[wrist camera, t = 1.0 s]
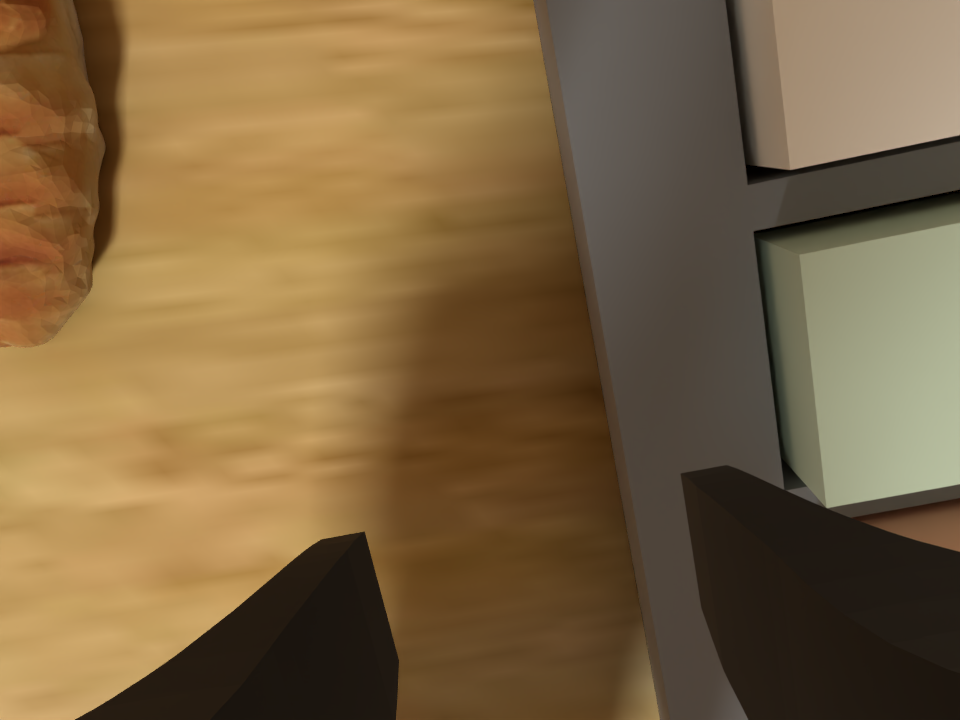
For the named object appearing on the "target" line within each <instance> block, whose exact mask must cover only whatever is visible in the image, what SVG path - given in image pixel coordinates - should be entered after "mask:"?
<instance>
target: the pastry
mask: <svg viewBox="0 0 960 720" xmlns="http://www.w3.org/2000/svg"><path fill="white" fill-rule="evenodd" d="M105 147H106V145H105V141H104V138H103V136H102V133H101V131H100V129H99V127H98V114H97V108H96V103H95V97H94V94H93V91H92V89H91V87H90V85H89V81H88V76H87V70H86V63H85V56H84V44H83V36H82V33H81V29H80V26H79V22H78V17H77V13H76V9H75V6H74V3H73V0H0V347H10V346H15V347H19V348H26V347H34V346H37V345H41V344H45V343H46V342H48V341H49V340H51V339H52V338H53V337H54V336H55V335H56V334H57V333H58V331H59V330H60V329H61V328H62V327H63V325H64V324H65V323H66V321H67V320H68V319H69V318H70V316H71V315H72V314H73V313H74V311H75V310H76V309H77V308H78V307H79V306H80V304H81V303H82V302H83V301H84V299H85V298H86V296H87V295H88V294H89V292H90V290H91V288H92V265H91V262H92V258H93V254H94V248H95V245H94V238H93V231H94V225H95V222H96V219H97V216H98V212H99V197H98V177H99V172H100V168H101V164H102V160H103V156H104V153H105Z"/></svg>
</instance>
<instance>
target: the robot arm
mask: <svg viewBox="0 0 960 720" xmlns="http://www.w3.org/2000/svg"><path fill="white" fill-rule="evenodd" d="M680 474H681V480H682V487H683V493H684V500H685V506H686V512H687V519H688V525H689V532H690V538H691V545H692V551H693V558H694V564H695V570H696V577H697V583H698V590H699V596H700V603H701V609H702V611H703V614H704V617H705V620H706V623H707V626H708V629H709V631H710V634H711V637H712V640H713V643H714V646H715V648H716V651H717V654H718V657H719V659H720V662H721V665H722V668H723V670H724V673H725V675H726V677H727V679H728V681H729V683H730V685H731V687H732V689H733V691H734V693H735V694H736V696H737V698H738V700H739V702H740V704H741V706H742V708H743V710H744V712H745V714H746V716H747V718H748V720H960V552H959V551H955V550H951V549H947V548H944V547H940V546H936V545H932V544H929V543H925V542H921V541H917V540H914V539H911V538H908V537H904V536H901V535H898V534H895V533H892V532H889V531H886V530H883V529H880V528H878V527H875V526H872V525H869V524H866V523H864V522H861V521H858V520H855V519H852V518H850V517H847V516H845V515H842V514H840V513H837V512H835V511H832V510H830V509H827V508H825V507H822V506H820V505H818V504H815V503H813V502H811V501H808V500H806V499H804V498H801V497H799V496H797V495H795V494H792V493H790V492H788V491H786V490H784V489H781V488H779V487H777V486H775V485H773V484H771V483H768V482H766V481H764V480H762V479H760V478H758V477H755V476H753V475H751V474H749V473H746V472H744V471H742V470H739V469H737V468H734V467H731V466H728V465H723V466H718V467H713V468H707V469H702V470H696V471H691V472H685V473H680ZM398 668H399V659H398V656H397V652H396V648H395V644H394V641H393V637H392V633H391V629H390V626H389V622H388V618H387V614H386V610H385V607H384V603H383V599H382V595H381V592H380V588H379V584H378V580H377V577H376V573H375V569H374V565H373V562H372V558H371V554H370V550H369V547H368V543H367V539H366V535H365V532H360V533H354V534H349V535H344V536H338V537H333V538H327V539H322V540H320V541H318V542H317V543H315V544H313V545H312V546H311V547H309V548H308V549H306V550H305V551H304V552H303V553H301V554H300V555H299V556H298V557H296V558H295V559H294V560H293V561H292V562H290V563H289V564H288V565H287V566H286V567H284V568H283V569H282V570H281V571H280V572H279V573H277V574H276V575H275V576H274V577H273V578H272V579H270V580H269V581H268V582H267V583H266V584H264V585H263V586H262V587H261V588H260V589H259V590H257V591H256V592H255V593H254V594H253V595H252V596H250V597H249V598H248V599H247V600H246V601H244V602H243V603H242V604H241V605H240V606H239V607H237V608H236V609H235V610H234V611H233V612H231V613H230V614H229V615H227V616H226V617H225V618H224V619H222V620H221V621H220V622H218V623H217V624H216V625H215V626H213V627H212V628H211V629H210V630H208V631H207V632H206V633H204V634H203V635H202V636H201V637H199V638H198V639H197V640H195V641H194V642H193V643H192V644H190V645H189V646H188V647H186V648H185V649H184V650H183V651H181V652H180V653H179V654H177V655H176V656H175V657H173V658H172V659H170V660H169V661H168V662H166V663H165V664H163V665H162V666H160V667H159V668H158V669H156V670H155V671H153V672H152V673H150V674H149V675H147V676H146V677H144V678H143V679H141V680H140V681H138V682H137V683H135V684H133V685H132V686H130V687H129V688H127V689H126V690H124V691H123V692H121V693H120V694H118V695H116V696H115V697H113V698H112V699H110V700H109V701H107V702H105V703H104V704H102V705H100V706H99V707H97V708H95V709H94V710H92V711H90V712H88V713H86V714H84V715H83V716H81V717H79V718H77V719H75V720H396V709H397V692H398Z"/></svg>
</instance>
